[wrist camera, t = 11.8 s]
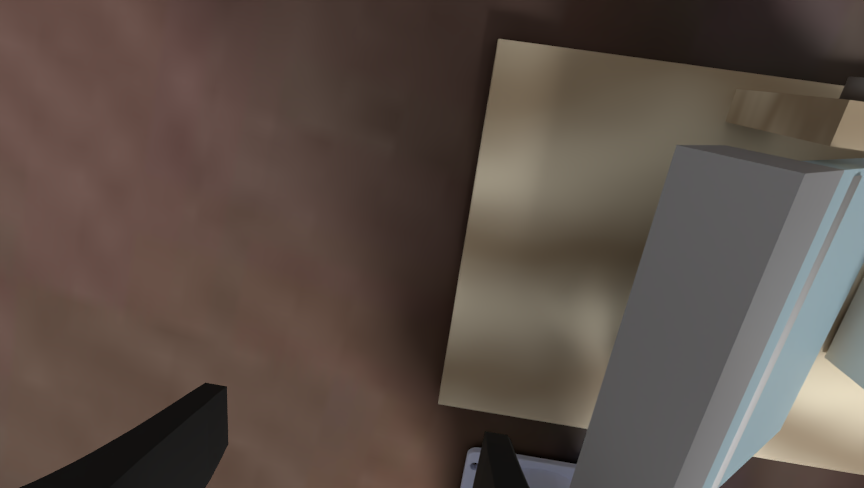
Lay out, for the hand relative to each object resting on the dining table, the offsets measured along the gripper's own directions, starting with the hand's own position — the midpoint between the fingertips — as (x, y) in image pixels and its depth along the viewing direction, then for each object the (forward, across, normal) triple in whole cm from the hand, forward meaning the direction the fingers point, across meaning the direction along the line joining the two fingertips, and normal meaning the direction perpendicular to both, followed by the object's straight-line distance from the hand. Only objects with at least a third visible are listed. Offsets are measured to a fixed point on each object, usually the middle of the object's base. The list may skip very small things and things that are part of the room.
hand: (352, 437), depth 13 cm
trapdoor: (+7, -12, -2) cm, 14 cm away
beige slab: (+10, -14, -2) cm, 17 cm away
